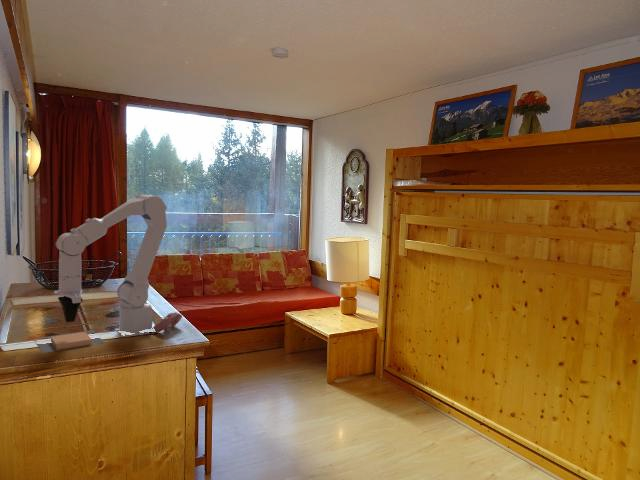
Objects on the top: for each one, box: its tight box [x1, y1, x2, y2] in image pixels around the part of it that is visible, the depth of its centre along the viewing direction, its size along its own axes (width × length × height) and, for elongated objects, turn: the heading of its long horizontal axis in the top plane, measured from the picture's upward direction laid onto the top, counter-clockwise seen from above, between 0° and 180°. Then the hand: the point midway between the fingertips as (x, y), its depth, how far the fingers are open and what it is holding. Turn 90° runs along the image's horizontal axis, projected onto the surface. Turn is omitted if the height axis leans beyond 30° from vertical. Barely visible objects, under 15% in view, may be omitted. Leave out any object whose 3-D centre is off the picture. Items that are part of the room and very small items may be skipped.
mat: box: [33, 329, 106, 354], centre depth 135 cm, size 16×13×1 cm
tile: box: [51, 331, 92, 350], centre depth 134 cm, size 9×2×7 cm
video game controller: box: [152, 311, 183, 334], centre depth 152 cm, size 10×5×7 cm, turn 166°
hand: (70, 321), depth 134 cm, fingers closed
